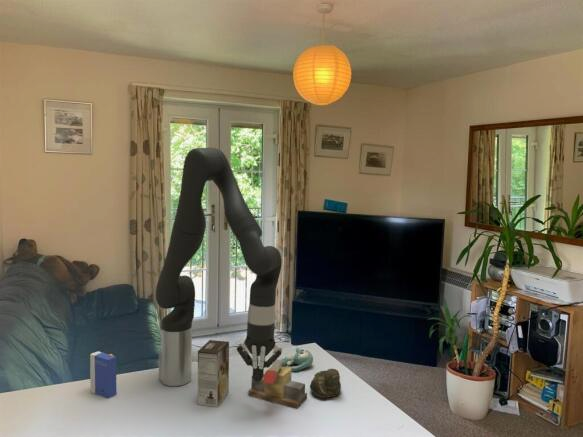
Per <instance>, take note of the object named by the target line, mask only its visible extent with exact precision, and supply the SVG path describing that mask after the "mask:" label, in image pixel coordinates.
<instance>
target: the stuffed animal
mask: <svg viewBox="0 0 583 437" xmlns="http://www.w3.org/2000/svg"><path fill="white" fill-rule="evenodd" d="M278 360H282V365H285V367H287V368H291V369H292V371H291V372H299V371H301V370H303V369H308V368H310V367H311V366H312V365H313V363H314V356H313V354H312V353H311V352H310V351H309V349H301V348H299V347H296V348H295V354H294V355H286V356H285V357H284V358H279V359H278ZM291 365H293V366H291ZM294 365H296V366H294Z"/></svg>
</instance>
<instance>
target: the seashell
mask: <svg viewBox="0 0 583 437" xmlns="http://www.w3.org/2000/svg"><path fill="white" fill-rule="evenodd" d="M340 380H341V375H340V371H339V370H337V369H336V368H329V369H327V370H320V371H318V372H316V373H315V374H314V377H313V379H312V380H311V381H310V385H309V389H310V390H311V392H312V394H313V395H315V396H316V397H318V398H321V399H323V398H333V397H335V396H339V395H340V393H341V391H342V385H341V384H342V383H341V381H340Z"/></svg>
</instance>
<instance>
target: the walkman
mask: <svg viewBox="0 0 583 437" xmlns="http://www.w3.org/2000/svg"><path fill="white" fill-rule="evenodd" d="M89 358H90V361H89V362H90V363H89V364H90V365H89V370H90V372H89V373H90V374H89V376H90V381H89V382H90V393H93V394H94V395H95V394H96V395H99V396H101V397H104V398H107V399H111V398H112V397H115V396H116V395H117V356H116V355H114V354H112V353H110V354H109V353H106V352H101V351H96V352H92V353H90V356H89Z"/></svg>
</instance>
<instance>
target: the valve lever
mask: <svg viewBox="0 0 583 437" xmlns="http://www.w3.org/2000/svg"><path fill="white" fill-rule="evenodd" d="M282 365H283V364H282V360H279V359H276V360H275V362H274V363H273V364H272V365H271V366H270V367H271V368H270V367H269V368H270V370H267V369H266V370H267V371H266V370H265V371H266V373H265V372H264V373H263V374H264V376H263V382H264V383H272V384H273V383H274V382H275V380H276V378H277V373H278V371H280V370H281V366H282Z"/></svg>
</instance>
